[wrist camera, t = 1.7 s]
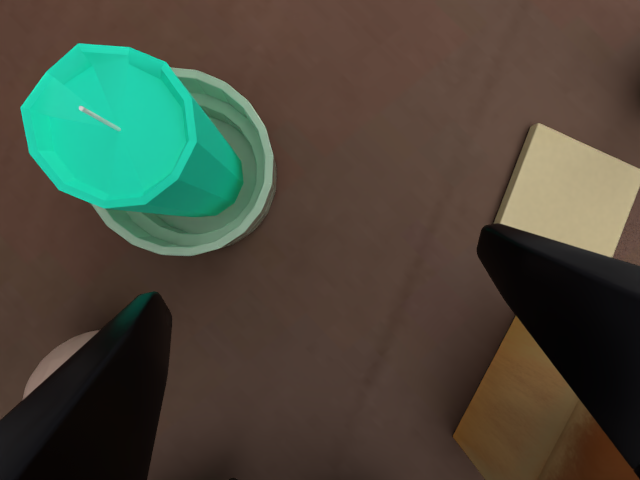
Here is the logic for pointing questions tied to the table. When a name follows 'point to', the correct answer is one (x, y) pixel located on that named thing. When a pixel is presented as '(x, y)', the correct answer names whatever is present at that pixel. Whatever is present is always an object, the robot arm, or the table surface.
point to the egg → (56, 360)
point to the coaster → (569, 192)
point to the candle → (128, 136)
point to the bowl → (253, 198)
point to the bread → (534, 422)
